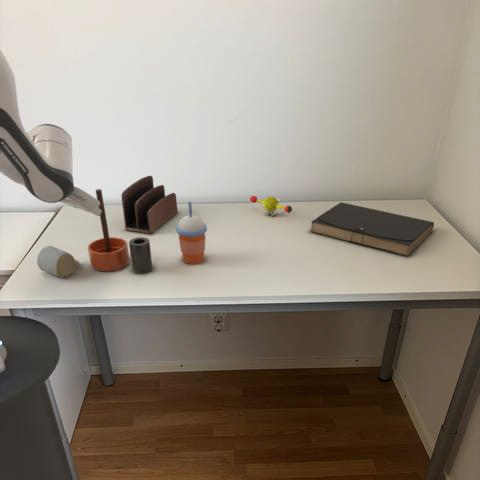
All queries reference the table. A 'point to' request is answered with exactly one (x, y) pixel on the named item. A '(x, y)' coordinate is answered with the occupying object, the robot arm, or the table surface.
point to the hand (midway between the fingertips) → (88, 209)
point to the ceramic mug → (56, 261)
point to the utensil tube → (141, 255)
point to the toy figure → (271, 204)
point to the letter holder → (147, 206)
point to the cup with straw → (192, 237)
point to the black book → (372, 228)
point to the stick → (103, 221)
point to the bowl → (108, 254)
